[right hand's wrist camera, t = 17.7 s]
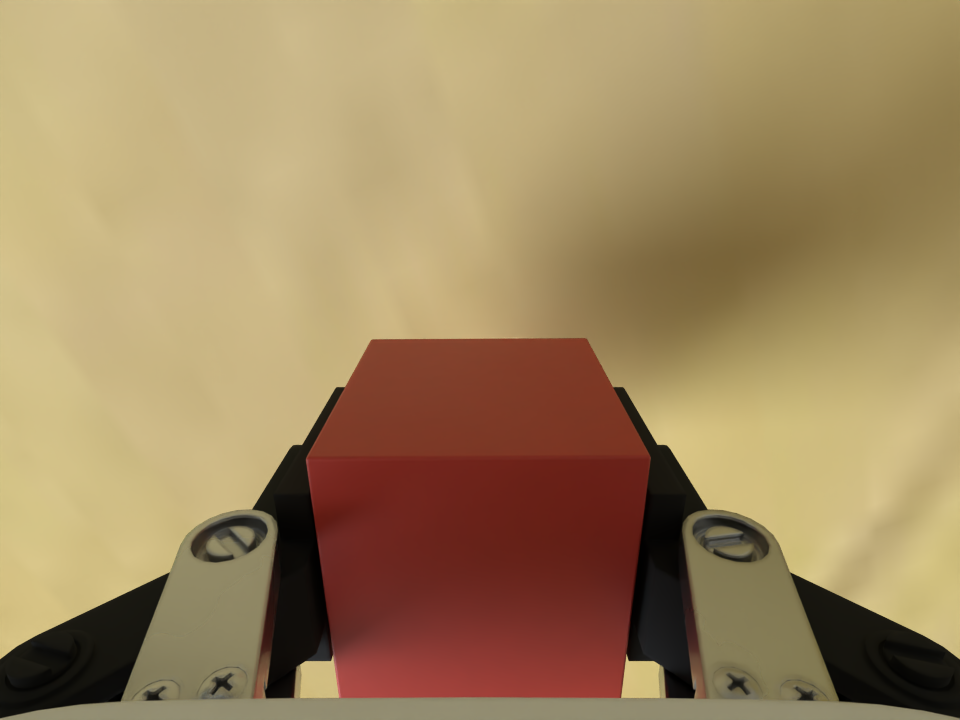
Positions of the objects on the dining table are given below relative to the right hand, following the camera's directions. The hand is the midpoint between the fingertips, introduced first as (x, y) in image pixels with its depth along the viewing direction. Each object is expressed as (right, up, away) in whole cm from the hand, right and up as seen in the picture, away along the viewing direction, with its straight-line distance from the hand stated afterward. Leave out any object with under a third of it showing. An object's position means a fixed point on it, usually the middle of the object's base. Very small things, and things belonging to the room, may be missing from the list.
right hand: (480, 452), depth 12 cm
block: (0, 0, 0) cm, 0 cm away
